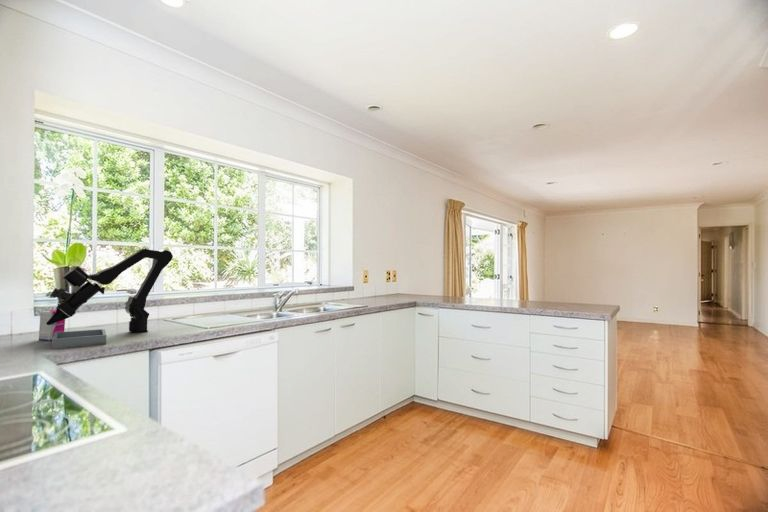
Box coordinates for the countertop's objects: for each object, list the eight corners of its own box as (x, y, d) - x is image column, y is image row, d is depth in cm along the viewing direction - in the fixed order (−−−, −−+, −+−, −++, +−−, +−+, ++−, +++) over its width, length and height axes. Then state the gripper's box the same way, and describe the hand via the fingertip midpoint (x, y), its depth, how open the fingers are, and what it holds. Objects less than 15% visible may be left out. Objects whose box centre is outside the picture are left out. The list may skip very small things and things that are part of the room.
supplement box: (50, 341, 155) (51, 311, 155) (38, 340, 156) (39, 311, 157) (65, 338, 161) (65, 310, 161) (53, 337, 162) (54, 309, 162)
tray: (104, 337, 165) (104, 328, 165) (106, 344, 152) (106, 335, 152) (54, 341, 155) (54, 332, 155) (51, 349, 143) (52, 339, 143)
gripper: (67, 279, 169) (31, 307, 162) (65, 282, 154) (26, 312, 147) (89, 297, 173) (55, 324, 167) (90, 301, 159) (53, 331, 152)
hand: (47, 323), depth 158 cm, fingers closed on supplement box, 8 cm apart
